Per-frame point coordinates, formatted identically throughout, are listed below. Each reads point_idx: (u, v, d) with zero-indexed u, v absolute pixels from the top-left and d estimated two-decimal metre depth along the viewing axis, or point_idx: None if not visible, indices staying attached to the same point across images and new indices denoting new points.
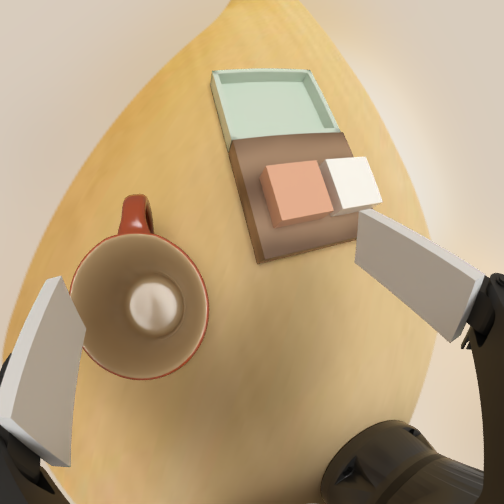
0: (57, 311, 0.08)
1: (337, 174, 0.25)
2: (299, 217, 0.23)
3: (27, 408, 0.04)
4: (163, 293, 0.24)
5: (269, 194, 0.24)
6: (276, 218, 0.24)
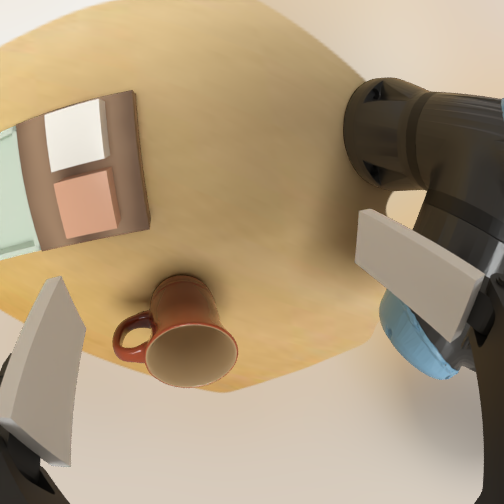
0: (57, 311, 0.08)
1: (66, 159, 0.18)
2: (113, 208, 0.21)
3: (27, 408, 0.04)
4: None
5: None
6: None
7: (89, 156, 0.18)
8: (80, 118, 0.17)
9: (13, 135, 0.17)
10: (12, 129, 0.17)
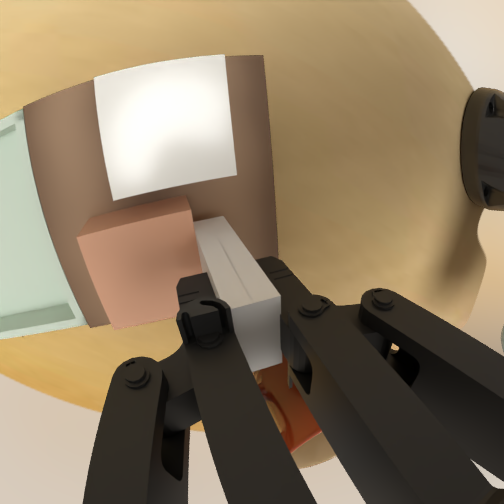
0: None
1: (150, 173, 0.10)
2: None
3: None
4: None
5: None
6: None
7: (203, 169, 0.10)
8: (183, 88, 0.09)
9: (18, 127, 0.09)
10: (16, 116, 0.09)
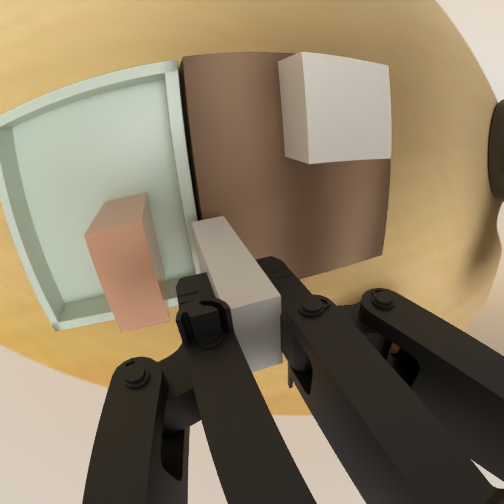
0: None
1: (340, 146, 0.12)
2: (113, 302, 0.11)
3: None
4: None
5: None
6: None
7: (373, 150, 0.12)
8: (365, 84, 0.10)
9: (169, 77, 0.11)
10: (166, 65, 0.10)
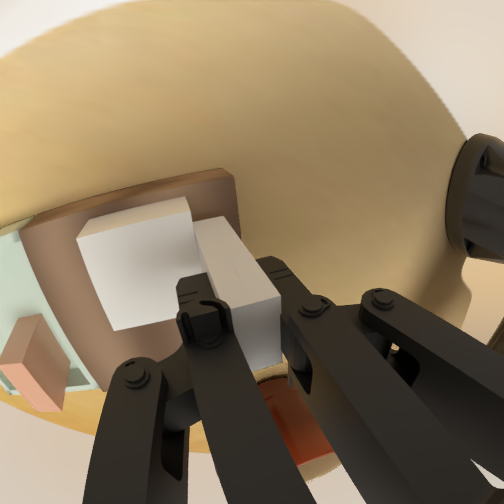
0: None
1: (140, 313, 0.12)
2: (26, 397, 0.12)
3: None
4: None
5: None
6: None
7: None
8: (156, 247, 0.11)
9: (17, 246, 0.11)
10: (13, 236, 0.11)
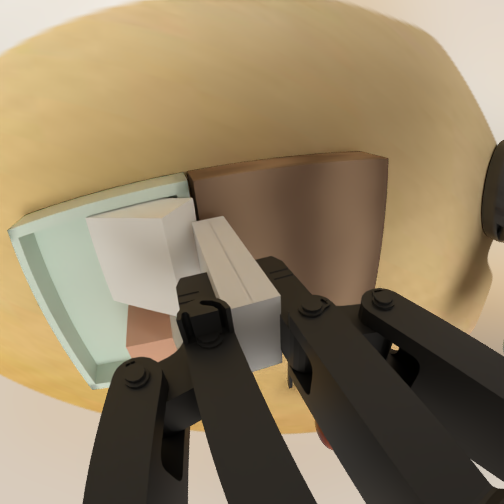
0: None
1: (130, 295, 0.13)
2: None
3: None
4: None
5: None
6: None
7: (163, 305, 0.13)
8: (137, 244, 0.12)
9: None
10: (178, 187, 0.13)
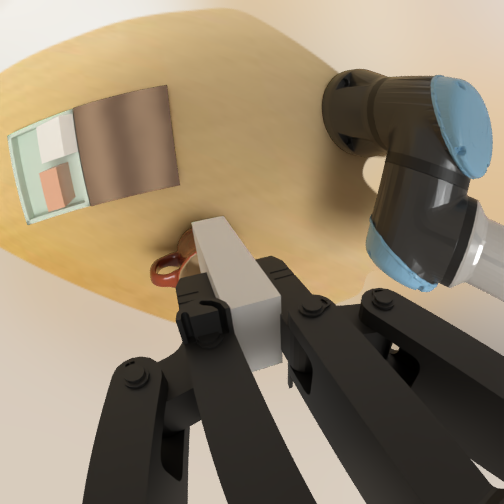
0: None
1: (47, 156, 0.26)
2: (46, 198, 0.26)
3: None
4: None
5: None
6: (57, 208, 0.28)
7: (57, 154, 0.26)
8: (51, 129, 0.24)
9: None
10: (69, 111, 0.25)
